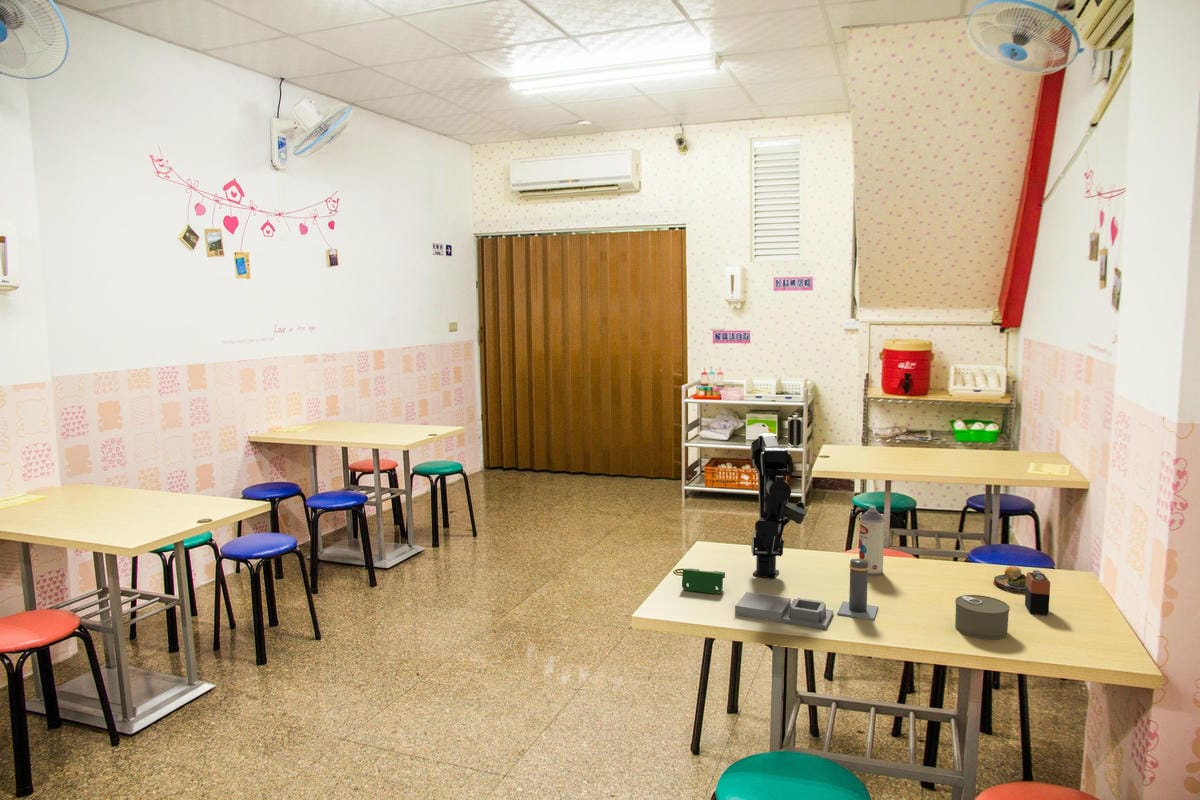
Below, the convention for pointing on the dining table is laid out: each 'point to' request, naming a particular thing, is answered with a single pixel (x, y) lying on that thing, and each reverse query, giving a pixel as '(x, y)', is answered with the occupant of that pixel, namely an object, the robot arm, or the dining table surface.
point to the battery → (1037, 593)
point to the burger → (1011, 580)
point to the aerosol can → (872, 540)
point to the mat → (845, 611)
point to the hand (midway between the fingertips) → (773, 549)
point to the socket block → (784, 610)
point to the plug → (858, 585)
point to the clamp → (702, 580)
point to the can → (981, 617)
